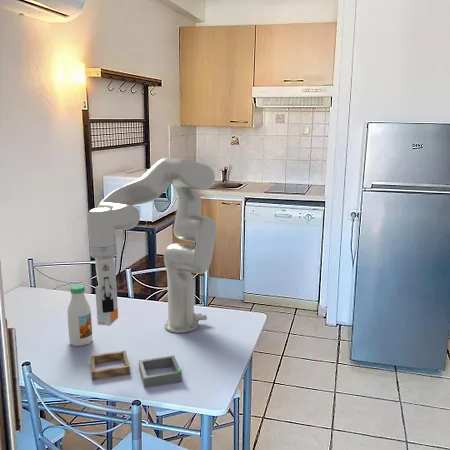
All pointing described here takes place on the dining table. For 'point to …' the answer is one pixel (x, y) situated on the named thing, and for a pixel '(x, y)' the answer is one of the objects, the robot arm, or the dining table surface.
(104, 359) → the wooden picture frame
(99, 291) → the skincare box
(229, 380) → the dining table surface
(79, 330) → the milk bottle
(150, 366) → the gray square frame
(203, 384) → the dining table surface
